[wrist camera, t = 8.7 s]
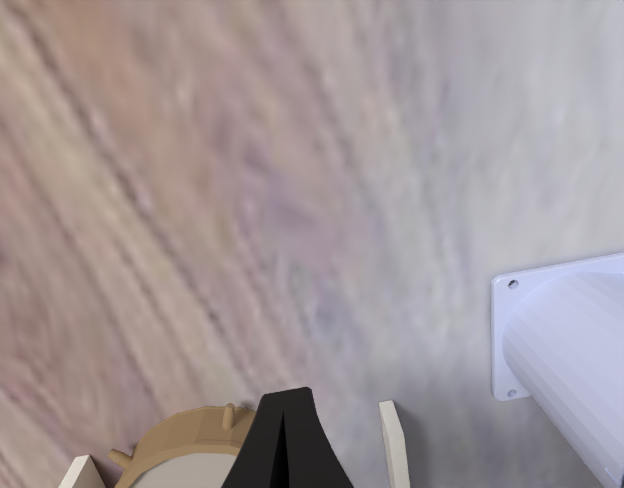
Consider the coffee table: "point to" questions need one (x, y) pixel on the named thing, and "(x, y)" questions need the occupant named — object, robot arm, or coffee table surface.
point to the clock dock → (88, 484)
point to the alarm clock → (187, 449)
